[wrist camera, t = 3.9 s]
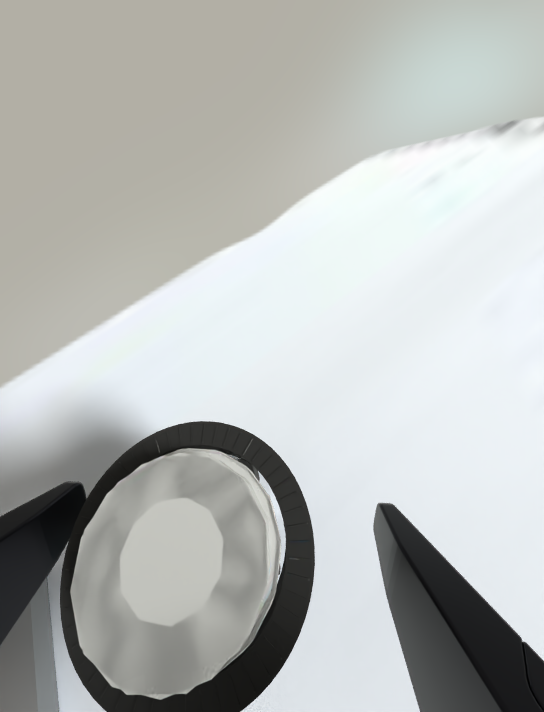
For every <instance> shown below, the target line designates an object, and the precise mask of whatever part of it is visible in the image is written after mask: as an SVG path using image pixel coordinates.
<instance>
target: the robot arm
mask: <svg viewBox="0 0 544 712" xmlns="http://www.w3.org/2000/svg"><path fill="white" fill-rule="evenodd" d="M86 500H87V498H86V494H85V490H84V487H83V484H82V483H81V482H73V481H68V482H65V483H63V484H61V485H59V486H57V487H55V488H53V489H52V490H50V491H48V492H46V493H44V494H42V495H40V496H38V497H36V498H35V499H33V500H31V501H29V502H27V503H25V504H23V505H21V506H19V507H18V508H16V509H14V510H12V511H10V512H8V513H6V514H4V515H2V516H1V517H0V646H1V644H2V643H3V641H4V640H5V638H6V637H7V635H8V634H9V632H10V631H11V629H12V628H13V626H14V625H15V623H16V622H17V620H18V619H19V617H20V616H21V614H22V613H23V611H24V610H25V608H26V607H27V605H28V604H29V603H30V601H31V600H32V598H33V597H34V595H35V594H36V592H37V591H38V589H39V588H40V586H41V585H42V583H43V582H44V580H45V579H46V577H47V576H48V574H49V573H50V571H51V570H52V568H53V567H54V565H55V563H56V562H57V560H58V558H59V557H60V555H61V553H62V551H63V550H64V548H65V546H66V544H67V543H68V541H69V539H70V536H71V533H72V530H73V528H74V525H75V522H76V520H77V518H78V516H79V513H80V511H81V509H82V507H83V505H84V503H85V502H86ZM373 527H374V535H375V540H376V545H377V551H378V556H379V561H380V566H381V571H382V576H383V581H384V586H385V591H386V595H387V599H388V603H389V607H390V610H391V613H392V617H393V620H394V624H395V627H396V631H397V634H398V637H399V641H400V644H401V648H402V651H403V654H404V658H405V661H406V665H407V668H408V672H409V675H410V678H411V682H412V685H413V689H414V692H415V695H416V699H417V702H418V706H419V709H420V712H544V661H543V660H542V659H541V658H540V657H539V655H538V654H537V653H536V652H535V651H534V650H533V649H532V648H531V647H530V646H529V645H528V644H527V643H526V642H522V639H521V637H520V636H519V635H518V634H517V633H516V632H515V631H514V630H513V629H512V628H511V626H510V625H509V624H508V623H507V622H506V621H505V620H504V619H503V618H502V617H501V616H500V615H499V614H498V613H497V612H496V611H495V610H494V609H493V608H492V607H491V606H490V605H489V604H488V602H487V601H486V600H485V599H484V598H483V597H482V596H481V595H480V594H479V593H478V592H477V591H476V590H475V589H474V588H473V587H472V586H471V585H470V584H469V583H468V582H467V581H466V580H465V579H464V577H463V576H462V575H461V574H460V573H459V572H458V571H457V570H456V569H455V568H454V567H453V566H452V565H451V564H450V563H449V562H448V561H447V560H446V559H445V558H444V557H443V556H442V555H441V554H440V552H439V551H438V550H437V549H436V548H435V547H434V546H433V545H432V544H431V543H430V542H429V541H428V540H427V539H426V538H425V537H424V536H423V535H422V534H421V533H420V532H419V531H418V530H417V528H416V527H415V526H414V525H413V524H412V523H411V522H410V521H409V520H408V519H407V518H406V517H405V516H404V515H403V514H402V513H401V512H400V511H399V510H398V509H397V508H396V507H395V506H394V505H393V504H390V503H378V505H377V507H376V513H375V518H374V526H373Z"/></svg>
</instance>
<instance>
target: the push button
mask: <svg viewBox="0 0 544 712" xmlns="http://www.w3.org/2000/svg"><path fill="white" fill-rule="evenodd" d="M226 454H229V455H233V456H236V457H239V458H241V459H238V460H235V459H233V458H231V457H230V456H228V455H226ZM258 471H259V472H260V473H261V474H262V475H263V477H264V478H265V480H266V481H267V482H268V484H269V485H270V487H271V489H272V491H273V493H274V495H275V497H276V499H277V502H278V504H279V507H280V510H281V513H282V517H283V521H284V527H285V532H286V550H285V558H284V563H283V567H282V572H281V575H280V557H281V539H280V534H279V530H278V525H277V521H276V516H275V512H274V507H273V505H272V502H271V499H270V496H269V495H268V494H267V493H266V491H265V490H264V488H263V487H262V485H261V484H260V483H259V474H258ZM314 566H315V555H314V538H313V530H312V525H311V520H310V515H309V512H308V508H307V505H306V502H305V499H304V496H303V494H302V491H301V489H300V487H299V485H298V483H297V481H296V479H295V477H294V476H293V474H292V472H291V471H290V469H289V468H288V466H287V465H286V464H285V462H284V461H283V460H282V459H281V457H280V456H279V455H278V454H277V453H276V452H275V451H274V450H273V449H272V448H271V447H270V446H268V445H267V444H266V443H265V442H264V441H262V440H261V439H259V438H258V437H256V436H255V435H253V434H251V433H249V432H247V431H245V430H243V429H240V428H238V427H235V426H232V425H228V424H224V423H218V422H205V421H200V422H189V423H184V424H178V425H175V426H172V427H168V428H166V429H163V430H161V431H158V432H156V433H154V434H152V435H150V436H148V437H146V438H145V439H143V440H142V441H140V442H139V443H137V444H136V445H134V446H133V447H132V448H130V449H129V450H128V451H126V452H125V453H124V454H123V455H122V456H121V457H120V458H119V459H118V460H116V461H115V462H114V464H113V465H112V466H111V467H110V468H109V469H108V470H107V471H106V472H105V474H104V475H103V476H102V477H101V479H100V480H99V481H98V483H97V484H96V486H95V487H94V489H93V490H92V492H91V493H90V495H89V496H88V498H87V500H86V502H85V503H84V505H83V507H82V509H81V511H80V513H79V516H78V518H77V520H76V522H75V525H74V528H73V530H72V533H71V536H70V539H69V542H68V546H67V550H66V553H65V558H64V563H63V569H62V577H61V588H60V608H61V621H62V627H63V633H64V638H65V642H66V646H67V649H68V653H69V656H70V658H71V661H72V663H73V666H74V668H75V670H76V672H77V674H78V676H79V678H80V680H81V681H82V683H83V685H84V686H85V688H86V689H87V690H88V692H89V693H90V695H91V696H92V697H93V698H94V699H95V701H96V702H97V703H98V704H99V705H100V706H101V707H102V708H103V709H104V710H105V711H107V712H240V711H242V710H243V709H244V708H246V707H247V706H248V705H249V704H250V703H251V702H253V701H254V700H255V699H256V698H257V697H258V696H259V695H260V694H261V693H262V692H263V691H264V690H265V689H266V688H267V686H268V685H269V684H270V683H271V682H272V680H273V679H274V678H275V676H276V675H277V674H278V672H279V671H280V670H281V668H282V667H283V665H284V663H285V662H286V660H287V658H288V657H289V655H290V653H291V651H292V649H293V647H294V645H295V643H296V641H297V639H298V637H299V634H300V632H301V629H302V626H303V623H304V620H305V618H306V614H307V610H308V606H309V602H310V598H311V592H312V586H313V579H314ZM278 575H280V578H279V580H278ZM277 580H278V583H277Z"/></svg>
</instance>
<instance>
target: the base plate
mask: <svg viewBox="0 0 544 712" xmlns="http://www.w3.org/2000/svg"><path fill="white" fill-rule="evenodd" d="M0 712H59V704H58V693H57V683H56V672H55V661H54V651H53V640H52V629H51V618H50V608H49V597H48V586H47V577H46V579H45V580H44V582H43V583H42V585H41V586H40V588H39V589H38V591H37V592H36V594H35V595H34V597H33V598H32V600H31V601H30V603H29V604H28V605H27V607H26V608H25V610H24V611H23V613H22V614H21V616H20V617H19V619H18V620H17V622H16V623H15V625H14V626H13V628H12V629H11V631H10V632H9V634H8V635H7V637H6V638H5V640H4V641H3V643H2V644H1V646H0Z"/></svg>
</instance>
